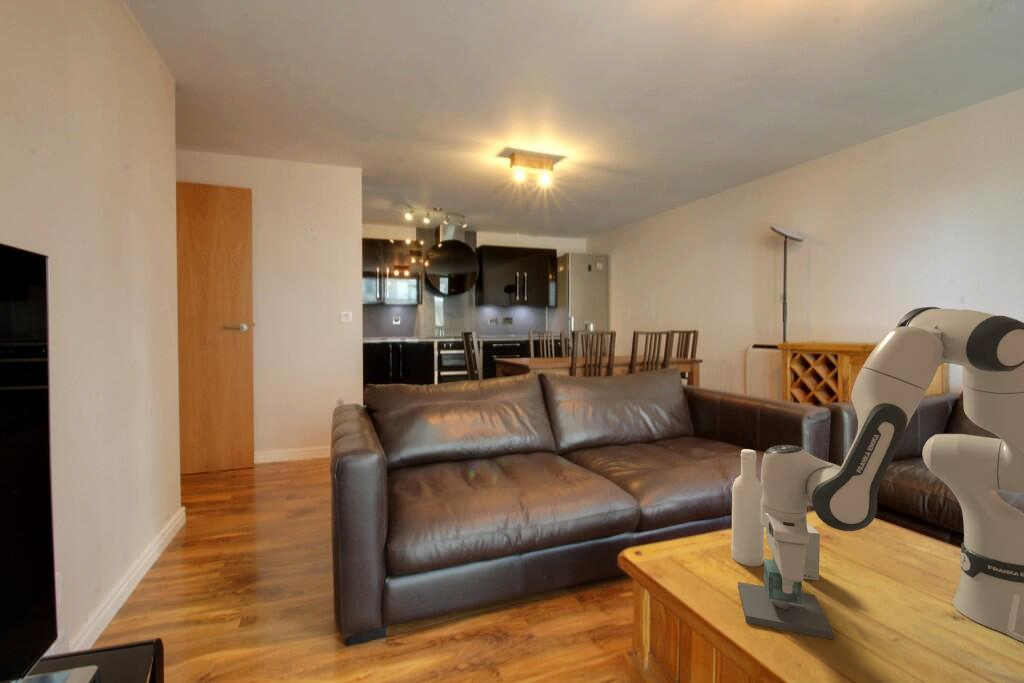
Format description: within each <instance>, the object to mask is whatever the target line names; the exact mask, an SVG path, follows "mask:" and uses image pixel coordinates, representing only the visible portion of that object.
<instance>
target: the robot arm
mask: <svg viewBox="0 0 1024 683" xmlns="http://www.w3.org/2000/svg"><path fill="white" fill-rule="evenodd" d="M943 364H949V365H950V364H951V365H953V364H954V365H956V366H962V374H961V375H962V377H961V378H962V398H963V401H962V402H963V410H964V414H965V416H966V417H967V418H968V419H969V420H970V421H971V422H972V423H974V425H976V426H978V427H979V428H981V429H983V430H986V431H988V432H990V433H992V434H993V435H994V436H997V437H998V438H995V437H987V436H980V435H972V434H965V433H964V434H963V433H940V434H939V433H937V434H934V435H933V436H931V437H929V438H928V439H927V441H926V442H925V444H924V446H923V447H922V459H923V463H924V464H925V466H926V468H927V469H928V470H929V471H930V472H931V473H932V474H933V475H934V476H936V477H937V478H938V479H940V480H941V481H942V482H943V483H944V484H945V485H946V486H947V487H948V488H949V489H950V490H951V492H952V493H953V494H954V496H955V498H956V499H957V501H958V503H959V506H960V508H961V512H962V519H963V535H964V536H963V542H962V543H961V546H960V548H961V549H960V559H959V560H960V569H961V574H960V579H959V582H958V587H957V590H956V593H955V594H954V597H953V599H952V601H951V602H952V605H953V607H954V608H955V610H957V611H958V612H959V613H961V614H962V615H964V616H965V617H967V618H968V619H970V620H972V621H974V622H976V623H977V624H981V625H983V626H985V627H987V628H989V629H993V630H995V631H998V632H1000V633H1004V635H1005V634H1006V635H1007V636H1009V637H1011V638H1013V639H1015V640H1017V641H1019V642H1021V643H1024V512H1023V511H1021V510H1020V509H1018V508H1016V507H1014V506H1012V505H1010V504H1008V503H1007V502H1006V501H1005V500H1003V499H1002V498H1001V496H1000V495H999V494H998V493H997V491H1001V492H1002V491H1003V492H1007V493H1014V494H1019V495H1024V322H1023V321H1020V320H1018V319H1016V318H1013V317H1009V316H1006V315H996V314H990V313H987V312H983V311H977V310H971V309H957V308H956V309H955V308H942V307H938V306H923V307H919V308H914V309H913V310H910V311H908V312H907V313H906V314H904V315H903V316H902V318H901V319H900V320H899V321H898V323H897V325H896V326H895V327H894V328H892V329H890V330H889V331H888V332H887V333H886V334H885V335H884V336H883V337H882V338H881V340H880V341H879V342H878V343H877V344H876V346H875V347H874V349H872V351H871V353H870V354H869V355H868V357H867V359H866V360H865V362H864V363H863V365H862V367H861V369H860V370H859V372H858V374H857V376H856V378H855V381H854V384H853V387H852V390H851V394H850V398H851V402H852V405H853V407H854V410H855V413H856V419H857V432H856V435H855V438H854V440H853V442H852V444H851V445H850V448H849V449H848V450H849V451H848V452H847V454H846V456H845V458H844V461H843V463H842V465H841V466H840V465H838V464H835V463H832V462H829V461H826V460H824V459H821V458H818V457H817V456H814V455H812V454H810V453H809V452H807V451H806V450H804V449H803V447H800V446H798V445H794V444H793V445H790V444H780V445H779V444H777V445H774V446H771V447H769V448H767V449H766V450H765V452H764V454H763V456H762V460H761V469H760V482H761V486H762V490H763V494H762V497H761V505H760V522H761V524H762V525H763V526H764V528H765V539H766V541H767V542H766V543H767V544H768V547H769V549H770V552H771V556H772V560H775V562H776V564H777V566H778V569H779V571H780V574H781V576H782V582H781V584H782V586H781V587H782V590H783V592H784V593H789V594H791V593H792V589H793V584H794V582H801V581H802V582H803V580H804V579H803V577H804V569H805V558H806V547H805V544H807V545H808V544H809V534H808V530H807V524H808V520H807V519H808V518H807V514H808V513H807V512H808V510H807V509H808V507H813V509H814V512H815V514H816V515H817V517H818V518H819V520H820V521H821V522H822V523H824V524H826V525H827V526H828V527H830V528H832V529H835V530H838V531H841V532H842V531H844V532H855V531H860V530H862V529H864V528H866V527H868V526H869V525H870V524H871V523H872V522H873V521H874V519H875V518H876V516H877V512H878V492H879V488H880V485H881V483H882V481H883V479H884V477H885V475H886V472H887V471H888V469H889V467H890V464H891V462H892V460H893V458H894V456H895V455H896V452H897V449H898V447H899V445H900V444H901V441H902V439H903V437H904V433H905V432H906V430H907V427H908V425H909V423H910V421H911V418H912V417H913V415H914V413H915V412H916V410H917V408H918V407H919V405H920V404H921V402H922V400H923V398H924V397H925V396H926V393H927V391H928V390H929V388H930V386H931V385H932V382H933V381H934V378H935V376H936V375H937V374H936V373H937V371H938V368H940V366H942V365H943Z"/></svg>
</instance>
